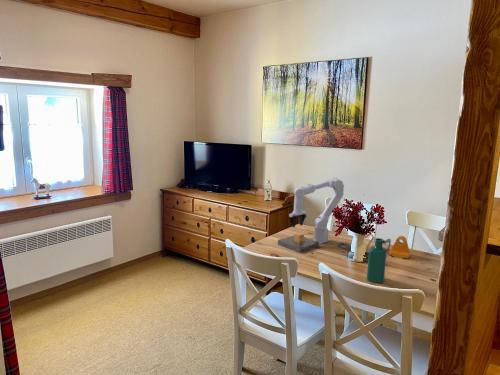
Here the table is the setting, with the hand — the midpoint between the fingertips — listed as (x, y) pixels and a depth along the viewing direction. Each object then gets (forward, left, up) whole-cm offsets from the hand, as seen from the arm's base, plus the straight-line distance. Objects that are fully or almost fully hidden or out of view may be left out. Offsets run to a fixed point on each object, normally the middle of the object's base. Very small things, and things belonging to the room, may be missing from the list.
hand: (297, 225), depth 253 cm
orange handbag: (-30, +57, -11) cm, 65 cm away
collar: (+6, +7, -10) cm, 14 cm away
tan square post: (+6, +7, -10) cm, 14 cm away
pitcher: (+13, +67, -11) cm, 69 cm away
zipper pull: (-6, +43, -11) cm, 45 cm away
